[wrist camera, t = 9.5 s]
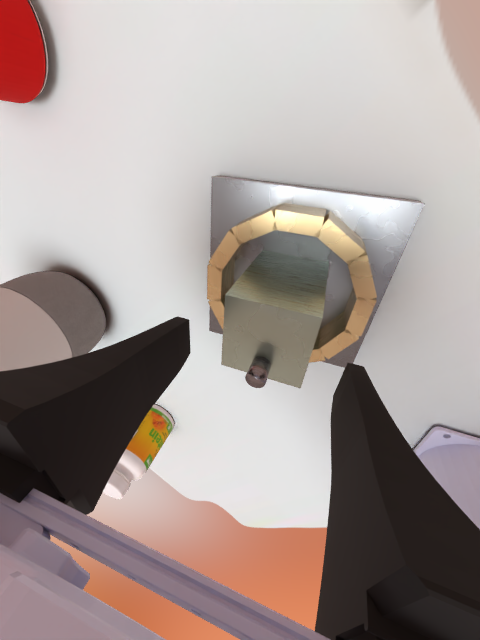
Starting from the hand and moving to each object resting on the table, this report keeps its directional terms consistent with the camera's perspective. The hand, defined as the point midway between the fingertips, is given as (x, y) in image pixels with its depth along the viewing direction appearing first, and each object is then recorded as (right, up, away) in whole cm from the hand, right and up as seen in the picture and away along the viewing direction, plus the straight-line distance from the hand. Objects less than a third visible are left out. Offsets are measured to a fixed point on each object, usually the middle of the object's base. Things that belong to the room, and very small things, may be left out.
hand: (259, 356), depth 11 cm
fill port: (+3, +5, +7) cm, 9 cm away
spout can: (+3, +4, +7) cm, 8 cm away
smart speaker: (-19, +4, +17) cm, 25 cm away
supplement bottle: (-12, -12, +24) cm, 29 cm away
